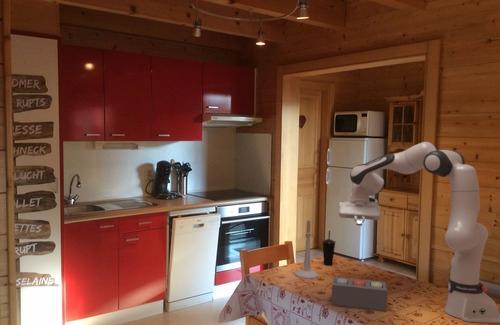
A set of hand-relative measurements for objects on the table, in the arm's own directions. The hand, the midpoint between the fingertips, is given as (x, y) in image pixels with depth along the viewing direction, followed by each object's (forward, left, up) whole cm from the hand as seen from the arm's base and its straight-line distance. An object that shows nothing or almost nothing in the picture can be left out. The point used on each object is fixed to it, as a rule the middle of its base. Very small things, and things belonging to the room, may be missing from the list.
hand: (359, 224), depth 212 cm
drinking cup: (+16, -36, -32) cm, 50 cm away
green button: (-8, +21, -25) cm, 34 cm away
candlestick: (+26, -12, -32) cm, 43 cm away
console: (-1, +21, -31) cm, 38 cm away
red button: (0, +21, -25) cm, 33 cm away
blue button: (+7, +21, -25) cm, 34 cm away
